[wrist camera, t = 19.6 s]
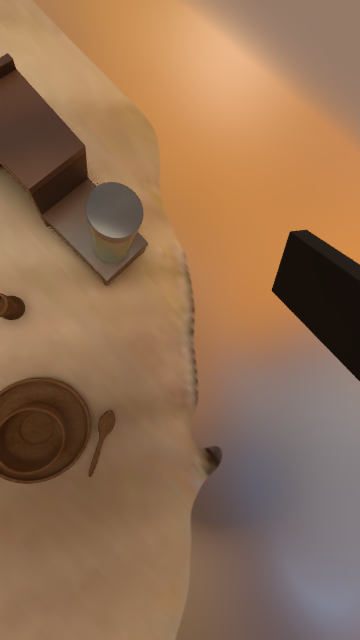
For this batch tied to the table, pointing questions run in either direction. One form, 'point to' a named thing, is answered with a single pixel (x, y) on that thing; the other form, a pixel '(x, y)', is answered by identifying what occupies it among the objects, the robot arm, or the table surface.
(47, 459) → the place setting
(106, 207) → the spice jar
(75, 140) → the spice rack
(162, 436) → the table surface
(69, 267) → the table surface
